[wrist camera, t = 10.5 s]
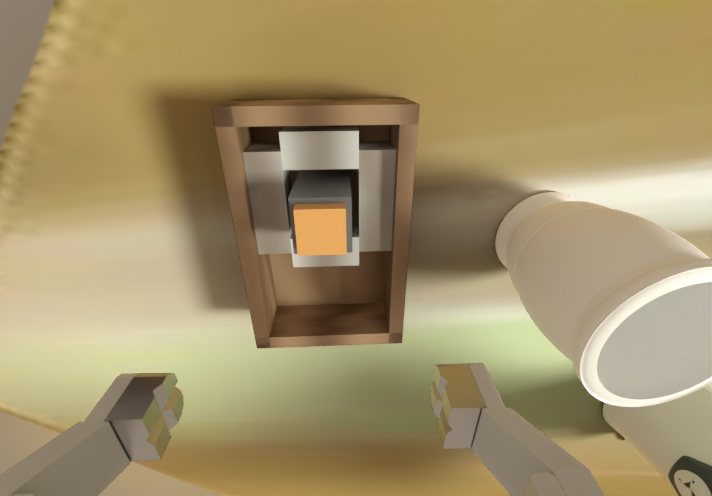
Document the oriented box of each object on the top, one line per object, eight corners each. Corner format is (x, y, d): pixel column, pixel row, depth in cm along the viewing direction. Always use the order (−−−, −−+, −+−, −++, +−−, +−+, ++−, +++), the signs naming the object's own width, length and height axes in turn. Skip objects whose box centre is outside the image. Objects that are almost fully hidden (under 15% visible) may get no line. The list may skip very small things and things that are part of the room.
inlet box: (404, 98, 26) (419, 104, 21) (393, 305, 36) (401, 342, 31) (235, 99, 26) (211, 106, 21) (268, 309, 35) (257, 348, 30)
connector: (348, 168, 28) (352, 202, 20) (349, 214, 29) (352, 259, 22) (299, 169, 27) (285, 203, 20) (303, 215, 29) (292, 261, 22)
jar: (563, 284, 35) (699, 413, 22) (469, 275, 34) (552, 404, 21) (613, 186, 30) (825, 276, 17) (505, 172, 29) (641, 256, 16)
